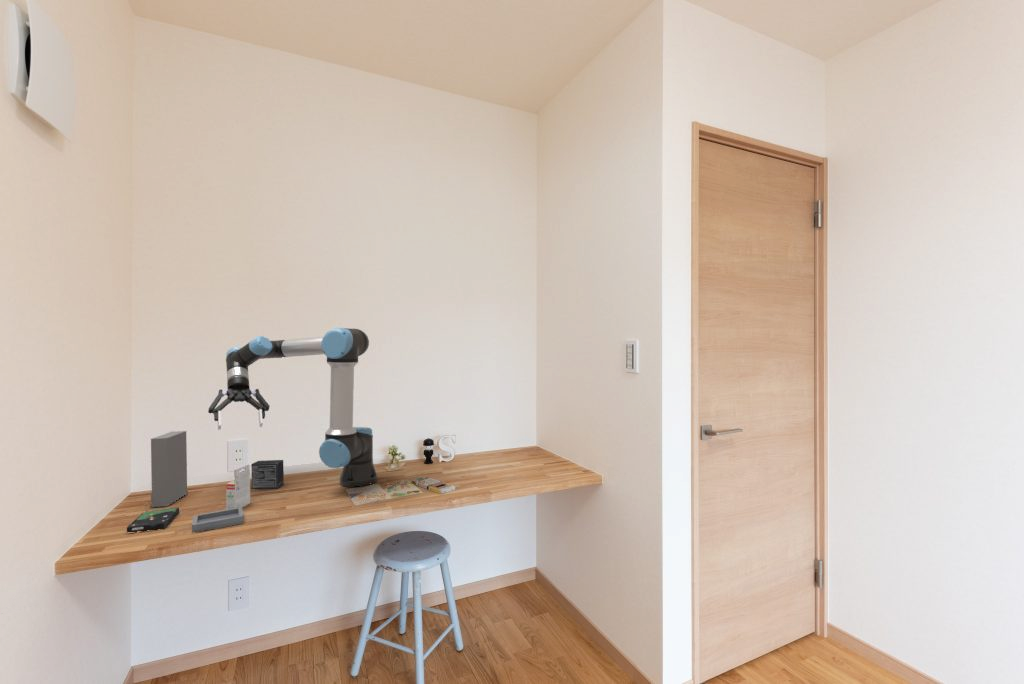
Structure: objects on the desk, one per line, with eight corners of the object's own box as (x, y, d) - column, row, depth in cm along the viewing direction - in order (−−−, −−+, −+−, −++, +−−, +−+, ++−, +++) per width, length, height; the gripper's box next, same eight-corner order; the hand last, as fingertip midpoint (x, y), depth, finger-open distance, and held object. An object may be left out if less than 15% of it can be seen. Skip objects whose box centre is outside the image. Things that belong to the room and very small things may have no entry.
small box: (284, 484, 195) (284, 459, 195) (278, 489, 188) (277, 463, 188) (258, 485, 194) (258, 459, 194) (250, 490, 187) (250, 464, 187)
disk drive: (166, 530, 149) (179, 514, 163) (166, 522, 149) (179, 506, 163) (126, 536, 145) (143, 519, 159) (126, 527, 145) (143, 510, 159)
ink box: (225, 511, 164) (225, 470, 164) (241, 503, 172) (241, 464, 172) (235, 512, 163) (234, 470, 163) (250, 504, 171) (250, 464, 171)
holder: (242, 514, 161) (242, 506, 161) (243, 523, 153) (243, 515, 153) (193, 522, 154) (193, 515, 154) (192, 533, 145) (192, 525, 145)
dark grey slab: (170, 495, 182) (169, 431, 182) (187, 494, 183) (186, 430, 183) (149, 508, 168) (148, 439, 168) (167, 506, 169) (166, 438, 169)
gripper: (271, 386, 196) (275, 429, 184) (199, 387, 181) (200, 434, 169) (274, 375, 191) (279, 418, 180) (201, 375, 176) (201, 422, 165)
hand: (240, 426), depth 174 cm, fingers open, 13 cm apart
